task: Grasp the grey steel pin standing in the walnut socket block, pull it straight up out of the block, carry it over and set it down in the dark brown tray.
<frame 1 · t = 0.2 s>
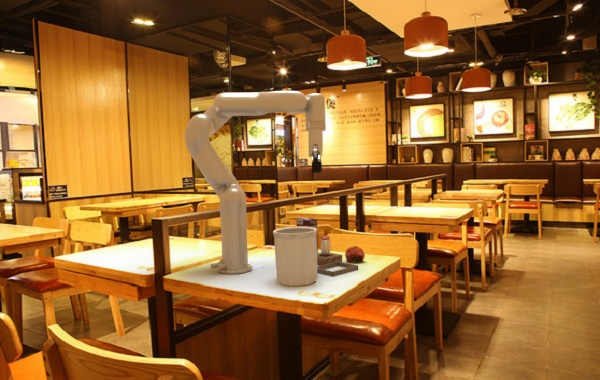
hand: (317, 172, 170), 36 cm above the table, tool pointing down, fingers open, 9 cm apart
tray: (335, 273, 159), on the table
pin: (325, 262, 171), point 1 cm above the table, touching pin block
supplement box: (307, 256, 189), on the table
utensil holder: (296, 281, 151), on the table
pin block: (325, 265, 171), on the table
pomegranate: (355, 264, 172), on the table
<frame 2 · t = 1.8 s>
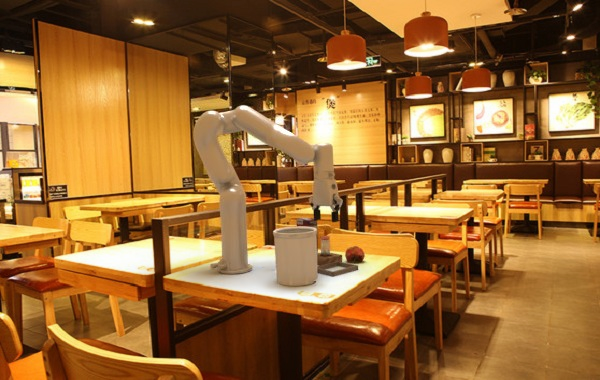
hand: (326, 220, 170), 17 cm above the table, tool pointing down, fingers open, 9 cm apart
nothing on the table moved.
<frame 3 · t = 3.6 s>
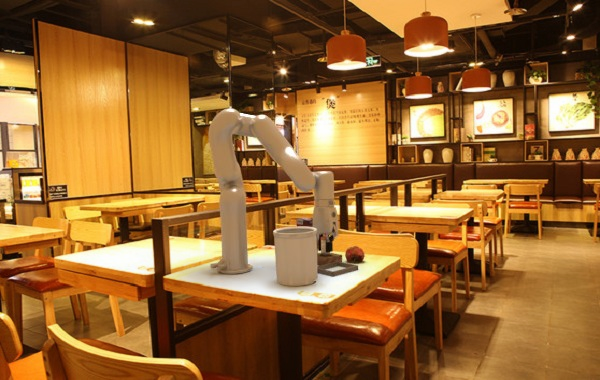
hand: (325, 250, 171), 6 cm above the table, tool pointing down, fingers closed on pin, 3 cm apart
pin: (325, 262, 171), point 1 cm above the table, touching gripper, pin block
everything else where it was.
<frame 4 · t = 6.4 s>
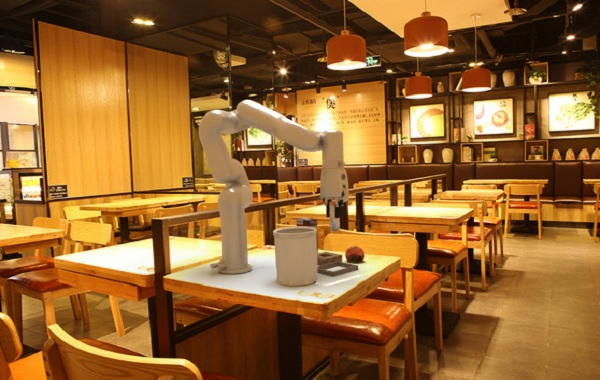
hand: (334, 216, 158), 20 cm above the table, tool pointing down, fingers closed on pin, 3 cm apart
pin: (334, 230, 158), point 16 cm above the table, touching gripper
everything else where it was.
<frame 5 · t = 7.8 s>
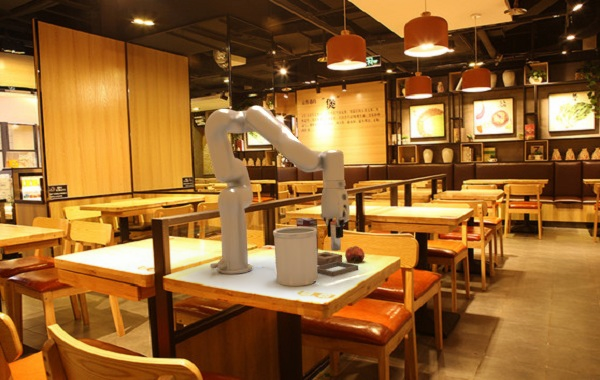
hand: (335, 236, 158), 13 cm above the table, tool pointing down, fingers closed on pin, 3 cm apart
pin: (336, 249, 158), point 9 cm above the table, touching gripper
everything else where it was.
when the fingers open (6 cm above the table, at t = 9.3 s): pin stays where it is, resting on tray.
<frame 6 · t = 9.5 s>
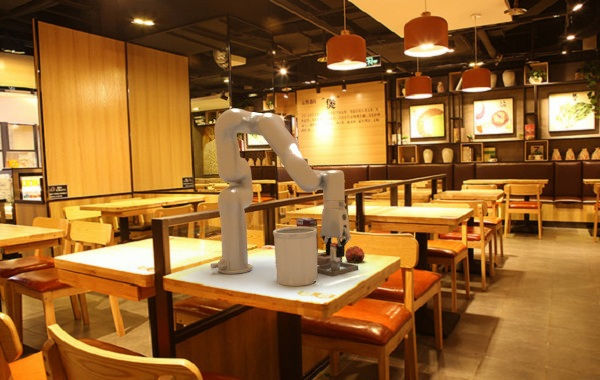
hand: (335, 255, 159), 7 cm above the table, tool pointing down, fingers open, 5 cm apart
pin: (335, 271, 159), point 1 cm above the table, touching tray
everything else where it was.
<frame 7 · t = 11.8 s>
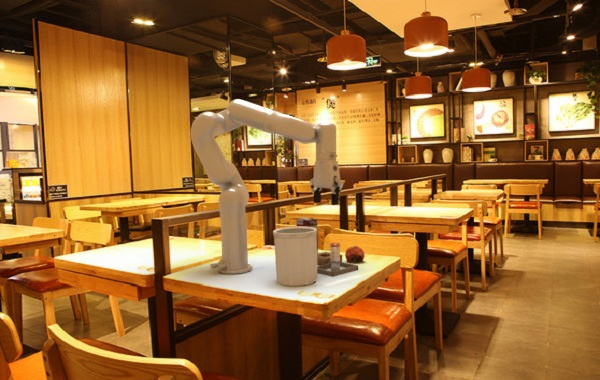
hand: (325, 203, 164), 24 cm above the table, tool pointing down, fingers open, 9 cm apart
nothing on the table moved.
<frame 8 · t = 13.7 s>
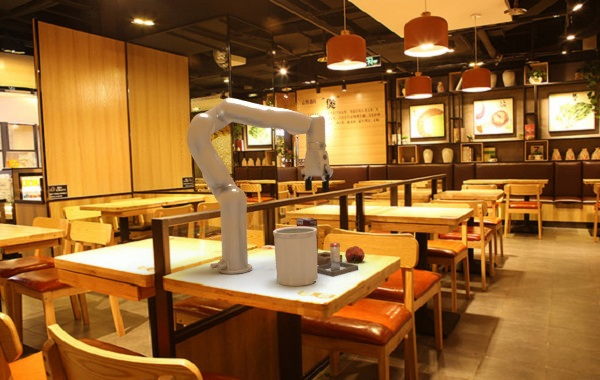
hand: (316, 191, 175), 28 cm above the table, tool pointing down, fingers open, 9 cm apart
nothing on the table moved.
at the end: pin inside the target area on the tray (0.1 cm from its centre), point 0.6 cm above the tray's base; the gripper is holding nothing; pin touching tray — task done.
